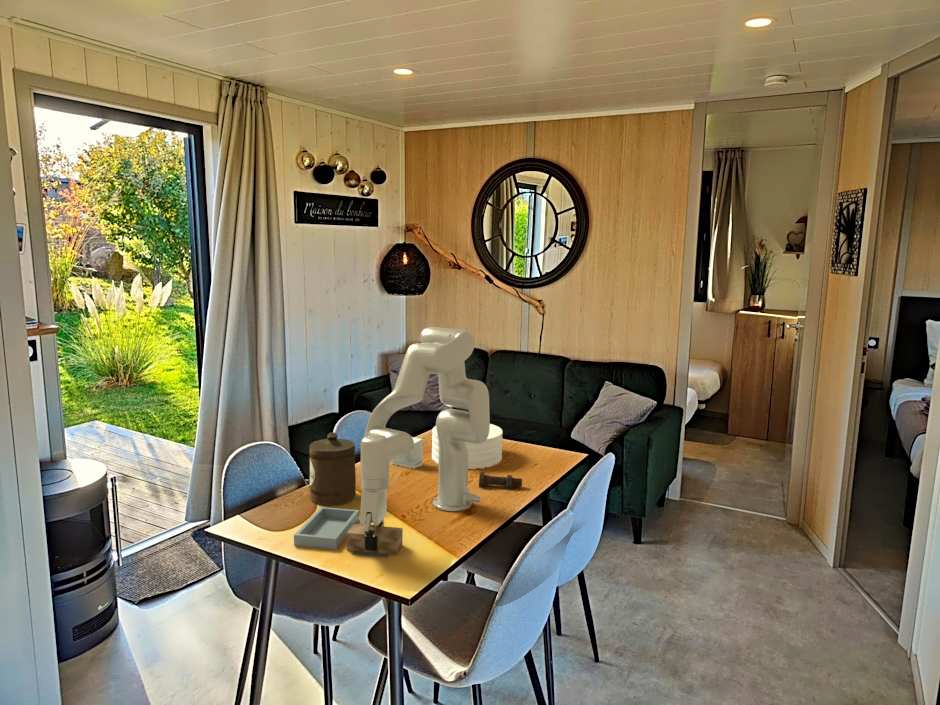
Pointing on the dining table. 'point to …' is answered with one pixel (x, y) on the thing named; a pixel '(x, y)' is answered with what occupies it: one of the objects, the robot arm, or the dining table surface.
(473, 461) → the plate stack
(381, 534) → the brown rectangular block
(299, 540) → the tray
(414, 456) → the skincare box
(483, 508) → the dining table surface
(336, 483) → the wooden container
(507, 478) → the bolt
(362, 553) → the stud base
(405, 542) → the dining table surface
